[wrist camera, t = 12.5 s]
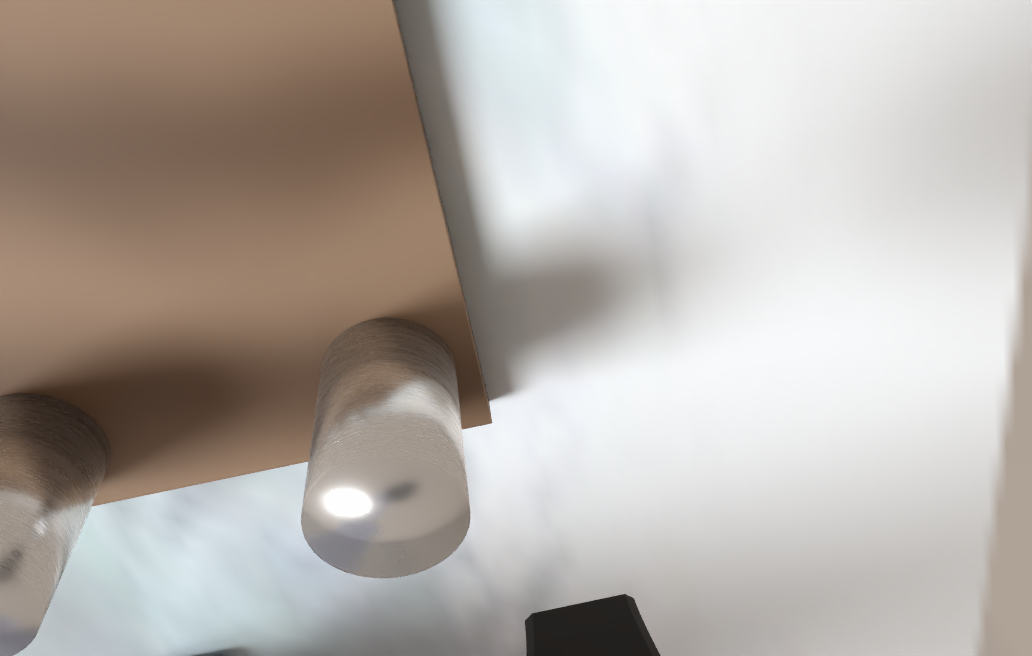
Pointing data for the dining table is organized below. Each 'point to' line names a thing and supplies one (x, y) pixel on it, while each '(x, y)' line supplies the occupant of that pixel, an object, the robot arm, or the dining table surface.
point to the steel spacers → (329, 483)
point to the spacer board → (211, 221)
